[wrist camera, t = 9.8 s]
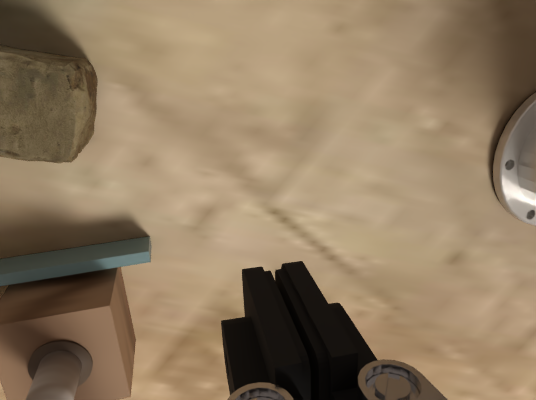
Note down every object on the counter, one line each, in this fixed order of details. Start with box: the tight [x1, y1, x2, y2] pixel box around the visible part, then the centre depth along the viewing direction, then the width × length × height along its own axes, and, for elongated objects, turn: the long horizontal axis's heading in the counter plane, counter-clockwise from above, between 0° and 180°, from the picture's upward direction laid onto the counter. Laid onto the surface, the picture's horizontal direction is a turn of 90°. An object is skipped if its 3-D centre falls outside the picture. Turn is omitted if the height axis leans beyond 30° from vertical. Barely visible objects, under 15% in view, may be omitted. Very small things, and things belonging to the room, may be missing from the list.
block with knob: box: [0, 267, 136, 400], centre depth 27 cm, size 7×7×12 cm
